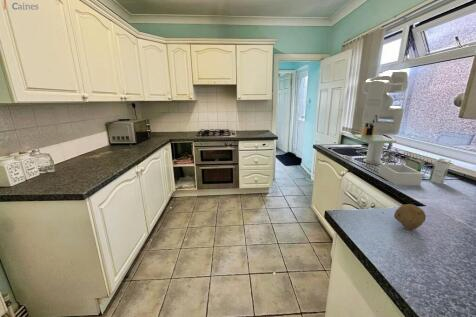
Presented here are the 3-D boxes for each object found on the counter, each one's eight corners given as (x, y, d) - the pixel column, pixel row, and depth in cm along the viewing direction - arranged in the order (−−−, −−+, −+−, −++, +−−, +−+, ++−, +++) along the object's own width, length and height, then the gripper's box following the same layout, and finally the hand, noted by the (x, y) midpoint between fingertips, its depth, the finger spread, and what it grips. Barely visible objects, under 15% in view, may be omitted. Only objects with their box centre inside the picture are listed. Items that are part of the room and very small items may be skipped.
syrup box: (431, 180, 128) (437, 157, 124) (444, 183, 123) (451, 159, 119) (428, 182, 125) (434, 159, 121) (441, 185, 120) (448, 161, 116)
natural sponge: (390, 228, 82) (396, 205, 79) (393, 218, 88) (398, 197, 85) (420, 238, 76) (428, 214, 73) (421, 227, 82) (428, 204, 80)
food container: (426, 177, 133) (430, 162, 130) (416, 177, 133) (420, 162, 130) (411, 170, 145) (415, 156, 142) (402, 170, 145) (405, 156, 142)
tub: (378, 175, 135) (380, 164, 133) (401, 176, 134) (403, 164, 132) (393, 186, 120) (396, 173, 117) (419, 186, 119) (423, 173, 116)
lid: (352, 137, 130) (354, 126, 128) (378, 138, 129) (380, 126, 127) (366, 143, 114) (369, 131, 112) (395, 144, 112) (398, 131, 110)
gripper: (360, 102, 129) (355, 132, 134) (374, 103, 114) (368, 136, 119) (372, 102, 129) (367, 132, 134) (388, 103, 113) (381, 137, 119)
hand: (367, 134), depth 127 cm, fingers closed on lid
